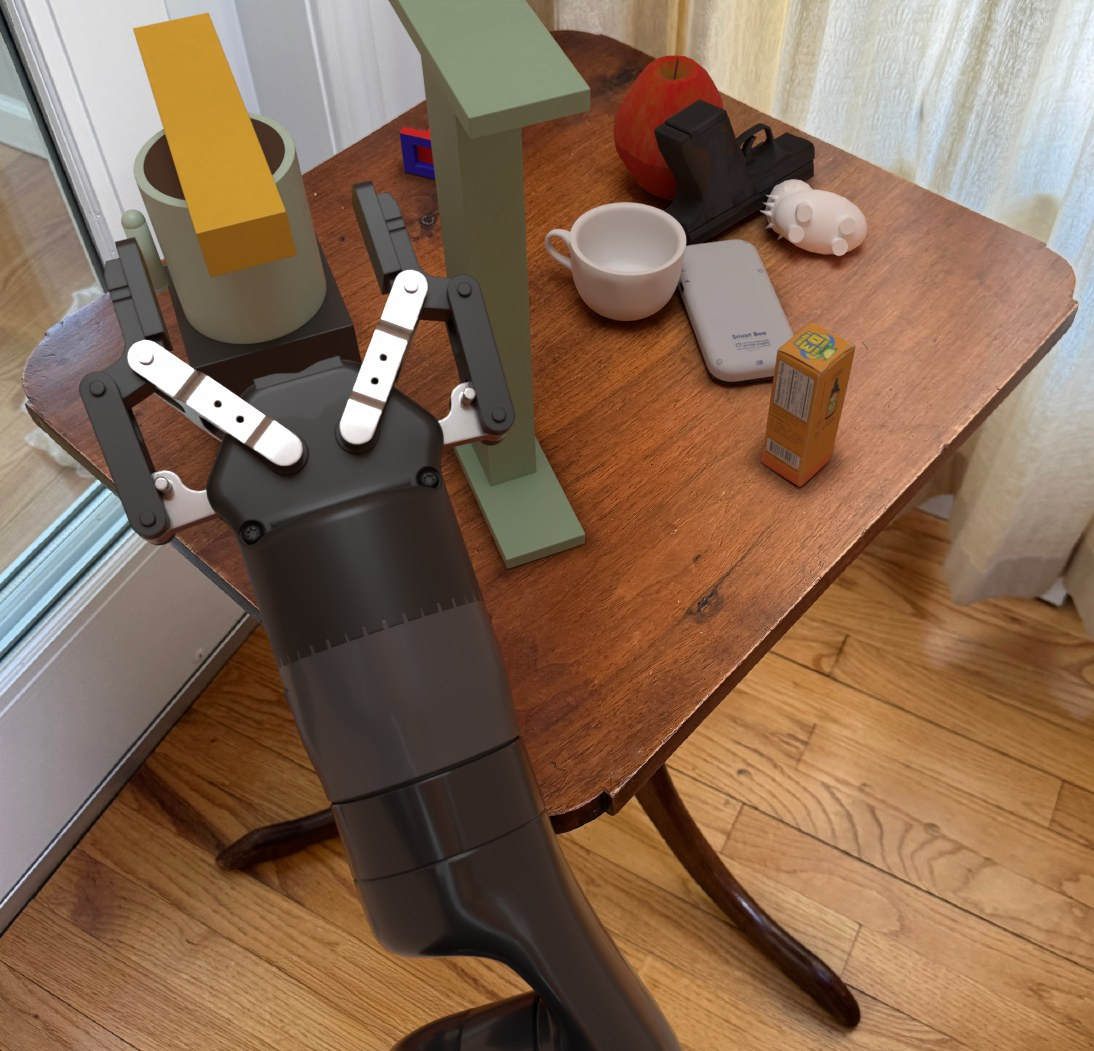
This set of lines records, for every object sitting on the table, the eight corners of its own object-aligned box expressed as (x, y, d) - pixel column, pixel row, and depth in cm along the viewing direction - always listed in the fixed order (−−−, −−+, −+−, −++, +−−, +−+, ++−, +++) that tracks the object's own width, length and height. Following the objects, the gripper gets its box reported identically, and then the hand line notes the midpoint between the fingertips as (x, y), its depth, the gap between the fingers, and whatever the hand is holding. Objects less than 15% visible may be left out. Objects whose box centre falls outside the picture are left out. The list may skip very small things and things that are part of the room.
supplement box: (787, 432, 73) (813, 316, 65) (831, 461, 71) (863, 345, 63) (754, 461, 71) (777, 345, 63) (798, 491, 70) (826, 376, 62)
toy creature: (754, 244, 81) (746, 220, 86) (859, 275, 82) (845, 249, 87) (778, 181, 79) (768, 160, 84) (886, 214, 79) (869, 191, 85)
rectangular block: (210, 278, 51) (195, 233, 49) (147, 71, 61) (132, 27, 59) (297, 255, 52) (286, 210, 50) (220, 55, 62) (208, 11, 60)
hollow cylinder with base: (228, 511, 70) (118, 237, 53) (201, 411, 75) (92, 132, 58) (383, 465, 72) (324, 186, 55) (346, 370, 77) (281, 88, 60)
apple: (595, 198, 87) (597, 70, 79) (643, 141, 91) (650, 14, 83) (692, 230, 85) (705, 101, 76) (737, 171, 89) (754, 42, 80)
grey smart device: (807, 358, 74) (802, 379, 76) (752, 232, 82) (749, 254, 83) (715, 371, 74) (712, 393, 75) (668, 244, 81) (666, 265, 83)
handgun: (680, 135, 75) (688, 263, 83) (824, 57, 80) (819, 184, 87) (651, 122, 77) (662, 248, 84) (793, 46, 82) (791, 171, 89)
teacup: (695, 278, 82) (701, 217, 77) (658, 349, 77) (663, 288, 73) (566, 245, 84) (566, 183, 80) (524, 311, 80) (521, 250, 76)
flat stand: (507, 569, 67) (468, 117, 43) (443, 428, 74) (379, -31, 50) (585, 543, 68) (591, 88, 44) (515, 406, 75) (487, -53, 51)
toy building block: (427, 142, 92) (518, 163, 90) (404, 172, 90) (497, 194, 88) (422, 102, 89) (516, 124, 88) (399, 132, 87) (495, 155, 85)
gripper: (595, 568, 38) (441, 122, 39) (165, 712, 35) (15, 224, 36) (555, 589, 45) (426, 212, 46) (197, 709, 42) (71, 303, 43)
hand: (246, 218), depth 41 cm, fingers open, 8 cm apart
